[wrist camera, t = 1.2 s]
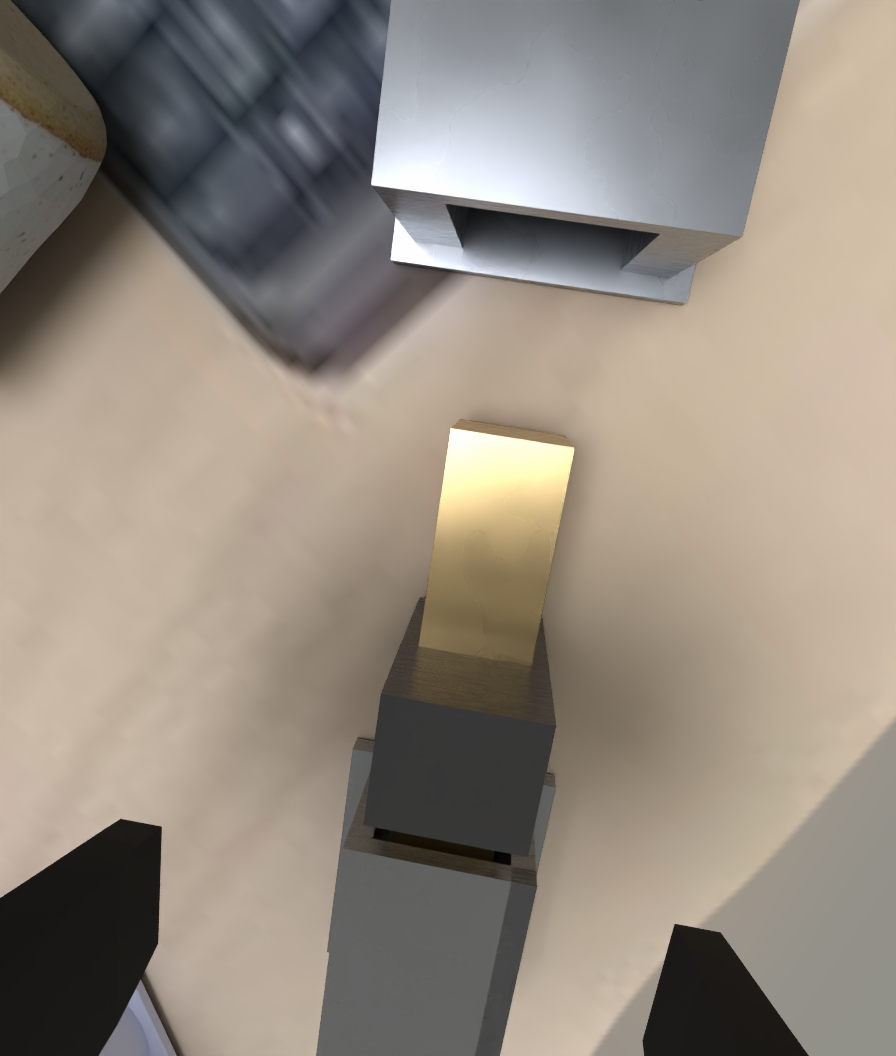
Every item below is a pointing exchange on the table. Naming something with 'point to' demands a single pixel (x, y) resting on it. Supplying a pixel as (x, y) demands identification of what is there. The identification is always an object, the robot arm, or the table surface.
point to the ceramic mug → (40, 140)
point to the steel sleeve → (422, 939)
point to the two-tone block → (476, 656)
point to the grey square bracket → (576, 136)
